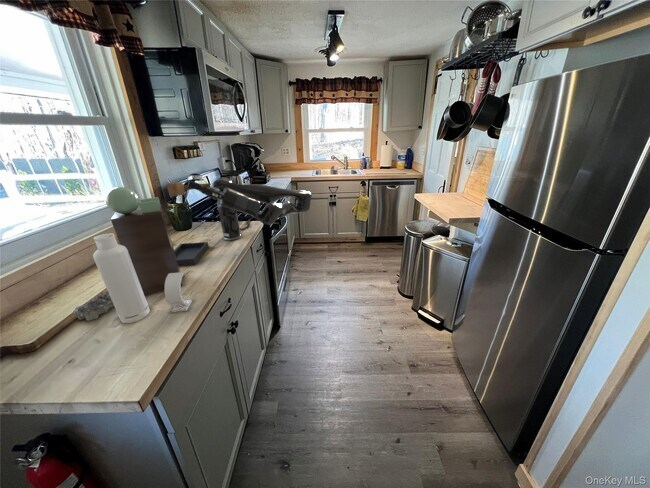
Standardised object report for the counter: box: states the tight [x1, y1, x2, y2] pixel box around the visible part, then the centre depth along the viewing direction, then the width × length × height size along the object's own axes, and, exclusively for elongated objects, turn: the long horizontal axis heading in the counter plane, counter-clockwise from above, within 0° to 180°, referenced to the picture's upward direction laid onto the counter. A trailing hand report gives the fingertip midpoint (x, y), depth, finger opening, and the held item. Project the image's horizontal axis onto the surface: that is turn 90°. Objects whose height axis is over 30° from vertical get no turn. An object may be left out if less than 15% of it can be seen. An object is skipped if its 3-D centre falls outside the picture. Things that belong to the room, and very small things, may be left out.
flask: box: [104, 186, 162, 214], centre depth 88 cm, size 9×14×9 cm, turn 120°
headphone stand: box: [164, 271, 193, 313], centre depth 86 cm, size 5×6×12 cm
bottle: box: [92, 232, 151, 324], centre depth 80 cm, size 8×8×28 cm
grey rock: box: [72, 292, 115, 322], centre depth 87 cm, size 11×8×4 cm
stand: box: [110, 206, 183, 297], centre depth 96 cm, size 10×14×30 cm
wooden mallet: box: [165, 181, 211, 198], centre depth 95 cm, size 5×14×5 cm, turn 120°
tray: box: [173, 241, 210, 267], centre depth 125 cm, size 20×14×3 cm
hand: (188, 183), depth 95 cm, fingers closed on wooden mallet
